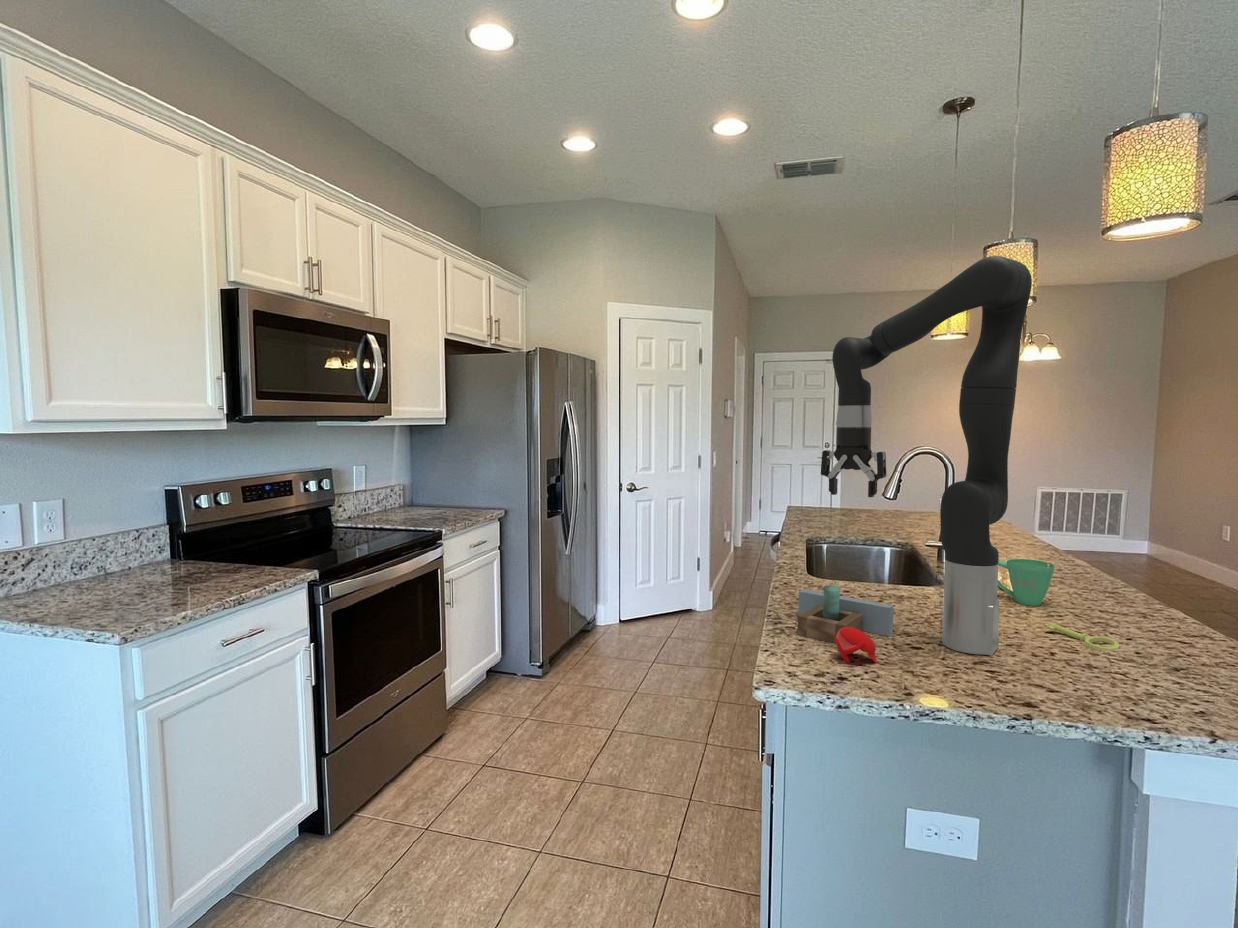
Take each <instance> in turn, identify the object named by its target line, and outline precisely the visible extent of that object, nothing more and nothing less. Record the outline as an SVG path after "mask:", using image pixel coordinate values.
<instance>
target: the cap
mask: <svg viewBox="0 0 1238 928" xmlns="http://www.w3.org/2000/svg"><path fill="white" fill-rule="evenodd" d="M835 640H836V643H835V644H836V646H837V649H838V651H839V653H840V655H841V657H842V659H843V661H844V662H845V663H846V664H849V663H850V662H851V660H850V658H849V656H850V655H853V654H854V653H856V652H857V651H859V650H860V651H862V652H864V653H867V654H868V656H869V657H870V659H871V660H872V662H874V663H877V662H878V661H877V657H876V653H875V652H876V649H877V648H876V645H875V643H874V641H873V640H872V638H871V637H870V636H869V635H868V634H866V633H865V631H863V632H862V631H860V630H858V629H855V628H851V627H844V628H842V629H840V630H839V631H838V633H837V635H836V637H835Z"/></svg>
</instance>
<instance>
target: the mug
mask: <svg viewBox="0 0 1238 928" xmlns="http://www.w3.org/2000/svg"><path fill="white" fill-rule="evenodd" d="M999 566H1000V567H1002V568H1004V569H1007V571H1008V575H1009V576H1008V577H1009V583H1010V585H1011V589H1012V590H1011V589H1010V588H1008V587H1006V586H1004V585H1003V584H1002V583H1001V582H1000V580H999V579H998V588H997V589H998V590H999V591H1001V592H1002V593H1004V594H1006V595H1008V596H1010V597H1012V598H1013V599H1014V600H1016V602H1017V603H1018V604H1020V605H1024V606H1031V607H1038V606H1041V604H1042V602H1043V601H1044V600H1045V597H1046V595H1047V592H1048V590H1049V588H1050V586H1051V580H1052V578H1053V575H1054V571H1055V568H1056V567H1055V565H1054V564H1053V563H1049V565H1048V563H1047V561H1044V560H1043V561H1042V560H1037V559H1031V558H1030V559H1029V558H1026V559H1025V558H1012V559H1011V558H1010V559H1008V560H1006V561H1004V560H1001V559H999V562H998V567H999Z"/></svg>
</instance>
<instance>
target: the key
mask: <svg viewBox="0 0 1238 928" xmlns="http://www.w3.org/2000/svg"><path fill="white" fill-rule="evenodd" d="M1045 628H1046V629H1048V630H1049V631H1055V632H1059V633H1062V634H1064V635H1067V636H1070V637H1072V638H1074V639H1077V640H1080V642H1083V644H1084V646H1085V647H1086V648H1088V649H1092V650H1097V651H1104V652H1105V651H1107V652H1108V651H1111V652H1112V651H1116V650H1119V649H1120V648H1121V647H1120V643H1119V642H1118V641H1116V639H1112V638H1111V637H1110V638H1109V637H1105V636H1098V635H1097V636H1089V635H1088V634H1087V633H1080V632H1076V631H1074V630H1072V629H1070V628H1066V627H1064V626H1061V625H1058V624H1055V623H1053V622H1052V623H1050V624H1049V625H1046V626H1045ZM1094 643H1106V644H1111V645H1112V646H1101V645H1096V644H1094Z"/></svg>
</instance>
